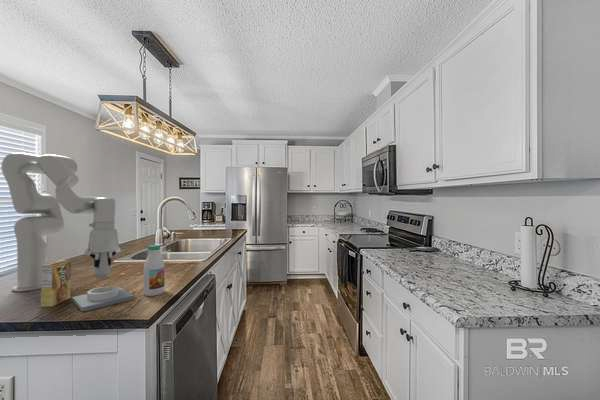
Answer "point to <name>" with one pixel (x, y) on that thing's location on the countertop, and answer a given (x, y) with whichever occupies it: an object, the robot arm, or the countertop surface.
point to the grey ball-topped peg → (102, 266)
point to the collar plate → (101, 303)
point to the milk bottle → (153, 272)
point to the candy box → (55, 282)
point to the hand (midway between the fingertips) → (102, 267)
